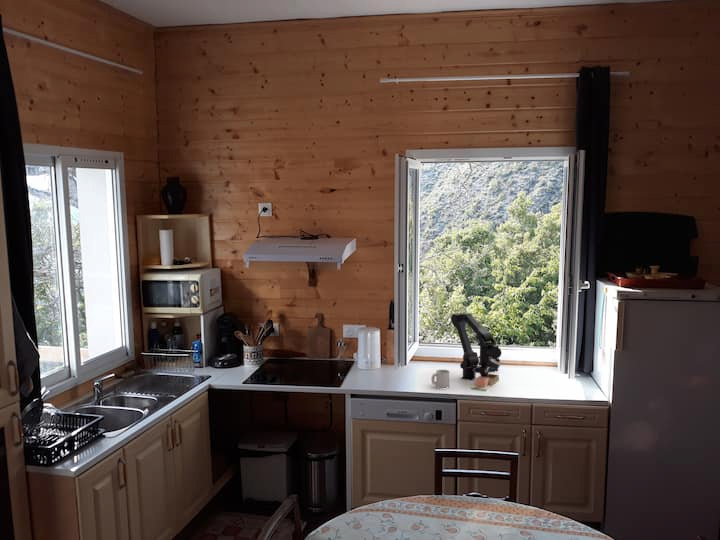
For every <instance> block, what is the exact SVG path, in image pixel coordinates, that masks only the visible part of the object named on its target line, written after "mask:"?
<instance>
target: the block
mask: <svg viewBox="0 0 720 540" xmlns="http://www.w3.org/2000/svg"><path fill="white" fill-rule="evenodd" d="M474 380H475V381H474V382H475V383H474V384H475V386H479V387H486V386H487V385H488V381H489V378H488V377H481V375H479V376H477V377H476V378H474Z"/></svg>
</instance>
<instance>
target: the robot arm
mask: <svg viewBox="0 0 720 540" xmlns="http://www.w3.org/2000/svg"><path fill="white" fill-rule="evenodd" d="M450 321H451V324H452V325H453V327H454V328H456V331H457V333H458V336H459V340H460V344H461V347H462V351H463V355H462V362H461V363H460V364H459V367H460V368H461V369H462V377H461V379H462V380H467V379H469V381H473V380H475V379H476V378H477V377H476V376H477V375H476V374H480V375H479V376H481V377H487V375H488V374H489V373H490V372H489V371H490V370H491V369H492V368H489V366H491V367H493V368H494V369H498V370H499V368H500V366H501V359H500V358H501V356H502V349H500V347H499V345H498V346H496V345H497V343H496V340H495V339H494V336H493V333H491V332H490V331H489V330H488V329H486V328H484V327H482V326H481V324H480V323H479V322H478V321H477V320H476V319H475V318H474V316H473V314H472V313H471V312H466V313H463V312H459V313H453V314H452V315H451V317H450ZM466 325H467V326H469V327H470V328H471V330H473V332H474V333H475V334H476V339H477V340H478V343H476V344H477V346H479V356H478V352H476V351H474V350H473V347H472V345H471V342H470V339H469V338H470V337H469V335H468V331H467V328H466ZM492 357H494V358H497V359H496V360H495V359H492Z"/></svg>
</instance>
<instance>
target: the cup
mask: <svg viewBox="0 0 720 540" xmlns="http://www.w3.org/2000/svg"><path fill="white" fill-rule="evenodd" d="M435 378H436V381H435ZM431 383H432V384H433V386H434V385H435V386H436V388H437V387H439V388H438V389H440V388H447V387H449V388H450V370H448V369H438V370H436V371H435V373H433V374H432V376H431ZM447 389H448V388H447Z"/></svg>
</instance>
